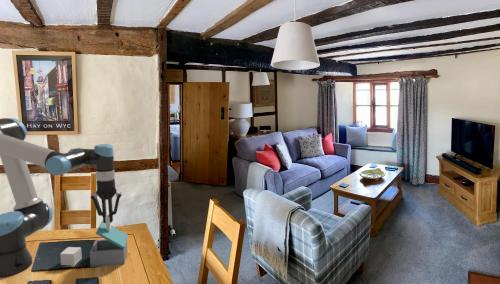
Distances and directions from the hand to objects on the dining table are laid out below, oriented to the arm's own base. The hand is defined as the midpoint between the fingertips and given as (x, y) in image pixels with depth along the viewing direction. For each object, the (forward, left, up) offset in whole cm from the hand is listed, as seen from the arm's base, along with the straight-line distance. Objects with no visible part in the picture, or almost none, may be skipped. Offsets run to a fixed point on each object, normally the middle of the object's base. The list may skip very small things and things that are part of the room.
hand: (108, 229), depth 145 cm
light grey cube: (-16, 0, -15) cm, 22 cm away
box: (0, 0, -15) cm, 15 cm away
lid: (+1, 0, -3) cm, 3 cm away
